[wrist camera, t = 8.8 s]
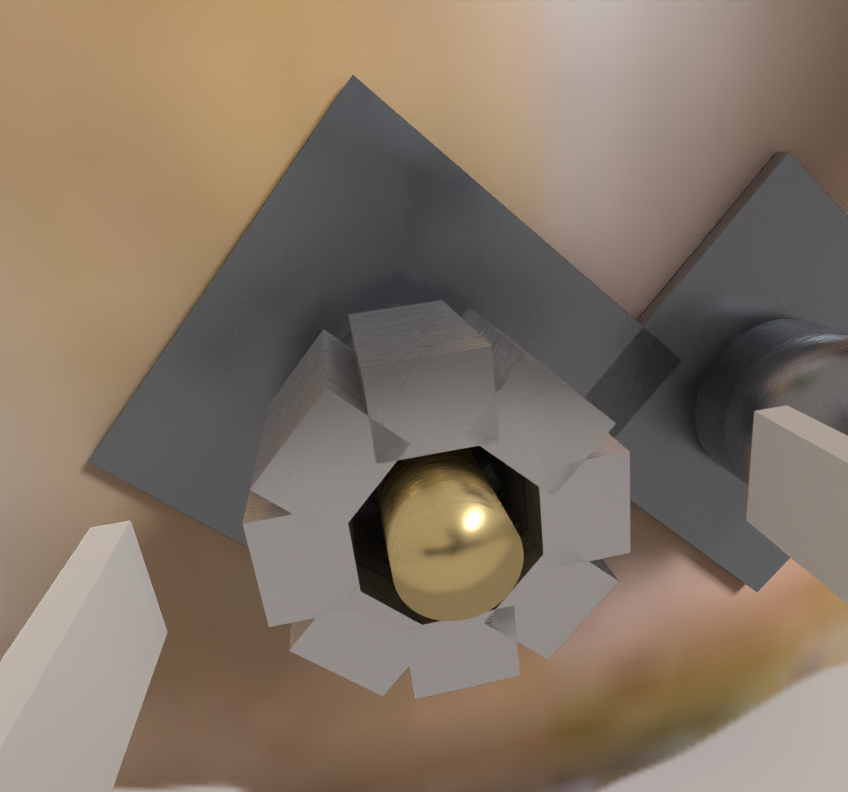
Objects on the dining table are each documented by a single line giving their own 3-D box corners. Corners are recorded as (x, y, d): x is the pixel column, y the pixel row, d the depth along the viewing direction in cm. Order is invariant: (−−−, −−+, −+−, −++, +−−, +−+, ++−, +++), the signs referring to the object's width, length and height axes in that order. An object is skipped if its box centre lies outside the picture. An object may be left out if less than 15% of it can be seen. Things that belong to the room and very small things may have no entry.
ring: (240, 330, 16) (208, 392, 11) (541, 284, 17) (629, 323, 12) (299, 590, 19) (294, 726, 14) (556, 538, 19) (631, 650, 15)
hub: (351, 78, 18) (386, -32, 9) (672, 355, 22) (915, 472, 13) (94, 454, 20) (-89, 676, 11) (432, 637, 24) (499, 901, 15)
